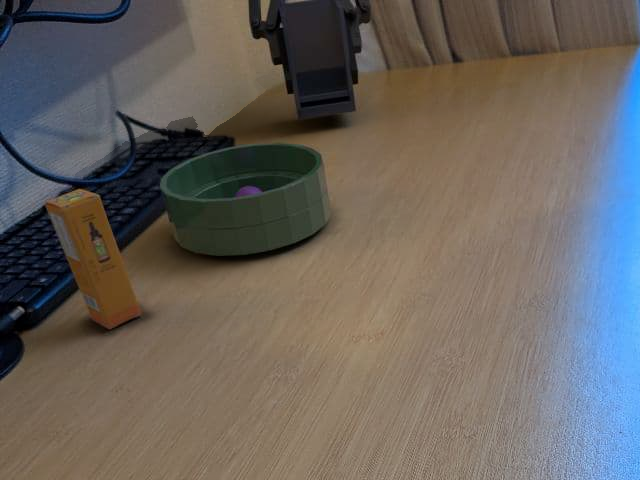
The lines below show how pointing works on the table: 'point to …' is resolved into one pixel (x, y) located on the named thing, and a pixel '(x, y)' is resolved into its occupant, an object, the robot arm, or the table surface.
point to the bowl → (246, 198)
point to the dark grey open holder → (318, 57)
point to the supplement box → (93, 257)
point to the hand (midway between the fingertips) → (322, 82)
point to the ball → (248, 191)
